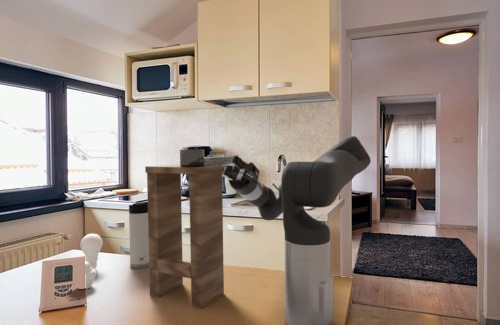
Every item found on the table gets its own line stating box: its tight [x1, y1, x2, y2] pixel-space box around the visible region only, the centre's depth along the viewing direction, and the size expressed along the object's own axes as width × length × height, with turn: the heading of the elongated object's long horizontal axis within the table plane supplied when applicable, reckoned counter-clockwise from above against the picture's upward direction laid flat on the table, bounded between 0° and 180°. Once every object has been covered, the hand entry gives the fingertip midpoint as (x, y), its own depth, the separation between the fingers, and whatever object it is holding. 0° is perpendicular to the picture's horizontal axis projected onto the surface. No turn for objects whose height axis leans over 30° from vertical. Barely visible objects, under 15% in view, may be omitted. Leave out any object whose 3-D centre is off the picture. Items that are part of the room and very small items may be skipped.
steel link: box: [179, 149, 235, 167], centre depth 88 cm, size 6×20×4 cm, turn 151°
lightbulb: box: [79, 233, 104, 269], centre depth 105 cm, size 6×6×11 cm
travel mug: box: [128, 201, 149, 269], centre depth 109 cm, size 6×7×20 cm
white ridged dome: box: [84, 261, 97, 290], centre depth 91 cm, size 6×6×7 cm
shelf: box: [144, 164, 225, 310], centre depth 86 cm, size 16×10×32 cm, turn 61°
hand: (220, 158), depth 92 cm, fingers open, 8 cm apart
